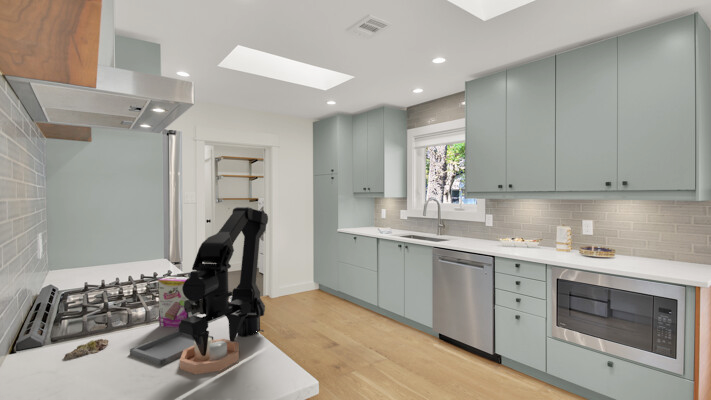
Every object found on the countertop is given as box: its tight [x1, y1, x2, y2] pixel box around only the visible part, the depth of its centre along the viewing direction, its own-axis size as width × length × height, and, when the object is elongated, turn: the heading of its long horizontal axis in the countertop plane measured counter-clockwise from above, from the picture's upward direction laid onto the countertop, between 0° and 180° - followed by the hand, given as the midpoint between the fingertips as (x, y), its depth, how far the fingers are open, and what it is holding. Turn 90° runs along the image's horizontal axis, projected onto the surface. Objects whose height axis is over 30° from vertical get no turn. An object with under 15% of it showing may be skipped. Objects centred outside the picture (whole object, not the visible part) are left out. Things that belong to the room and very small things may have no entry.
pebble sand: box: [194, 337, 212, 361], centre depth 95 cm, size 4×4×4 cm
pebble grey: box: [209, 341, 227, 361], centre depth 93 cm, size 4×4×4 cm
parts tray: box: [129, 329, 214, 366], centre depth 101 cm, size 16×14×2 cm
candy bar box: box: [157, 276, 198, 329], centre depth 118 cm, size 11×5×16 cm, turn 79°
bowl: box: [179, 338, 240, 375], centre depth 94 cm, size 14×14×3 cm
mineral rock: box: [63, 338, 110, 360], centre depth 100 cm, size 11×4×8 cm
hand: (218, 348), depth 93 cm, fingers open, 9 cm apart
